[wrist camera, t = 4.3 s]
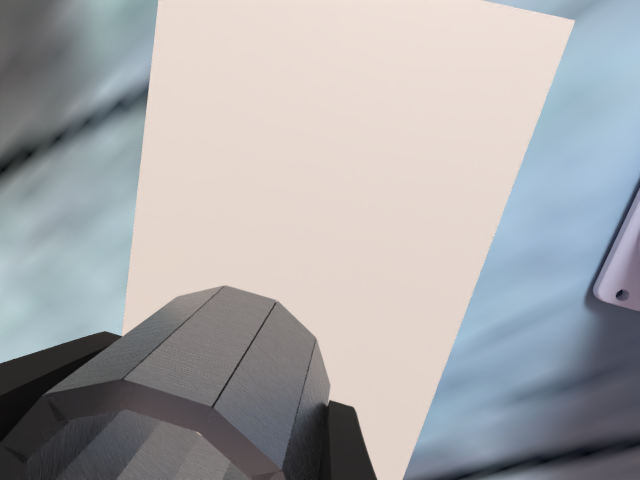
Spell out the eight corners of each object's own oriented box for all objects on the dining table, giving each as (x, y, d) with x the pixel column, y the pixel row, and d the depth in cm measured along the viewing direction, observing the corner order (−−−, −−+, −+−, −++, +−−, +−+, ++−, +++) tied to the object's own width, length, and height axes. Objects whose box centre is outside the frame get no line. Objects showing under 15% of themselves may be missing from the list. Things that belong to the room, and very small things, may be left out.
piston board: (563, 28, 14) (623, -11, 11) (389, 497, 20) (394, 563, 17) (176, -57, 15) (124, -115, 12) (121, 415, 21) (77, 462, 17)
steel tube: (349, 321, 9) (340, 446, 5) (301, 481, 10) (262, 683, 6) (155, 264, 9) (3, 341, 5) (131, 427, 10) (-8, 587, 7)
